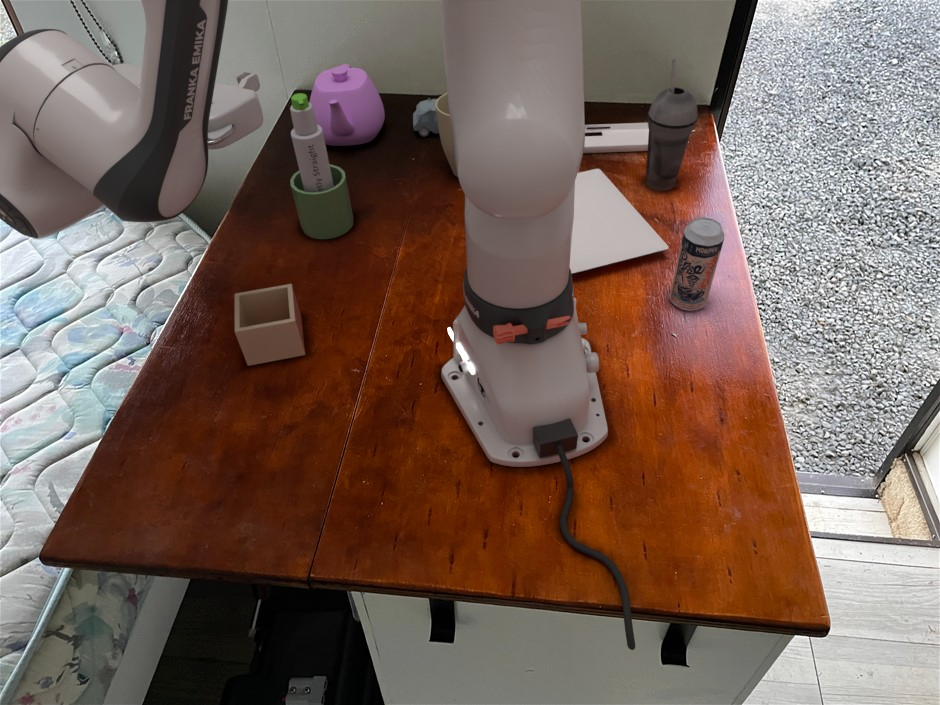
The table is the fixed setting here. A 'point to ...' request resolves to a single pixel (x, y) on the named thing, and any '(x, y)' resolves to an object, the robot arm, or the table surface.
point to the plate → (607, 225)
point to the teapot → (347, 106)
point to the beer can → (696, 263)
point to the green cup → (324, 207)
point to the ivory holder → (268, 324)
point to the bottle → (309, 146)
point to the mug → (446, 130)
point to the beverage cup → (668, 134)
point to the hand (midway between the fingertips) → (221, 72)
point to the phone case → (617, 138)
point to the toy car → (426, 117)
